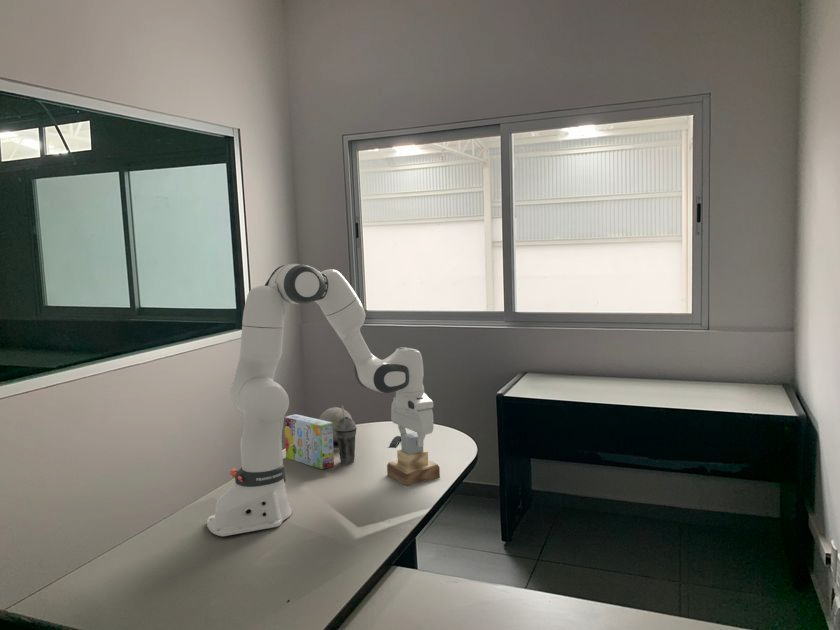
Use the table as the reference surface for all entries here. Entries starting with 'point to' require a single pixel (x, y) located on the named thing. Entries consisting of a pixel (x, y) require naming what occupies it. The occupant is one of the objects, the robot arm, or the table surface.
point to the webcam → (334, 421)
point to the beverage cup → (346, 439)
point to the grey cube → (410, 443)
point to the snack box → (309, 441)
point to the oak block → (412, 459)
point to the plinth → (413, 472)
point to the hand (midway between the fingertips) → (411, 442)
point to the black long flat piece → (394, 442)
